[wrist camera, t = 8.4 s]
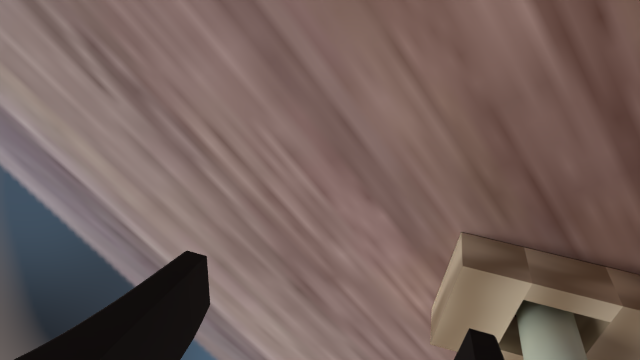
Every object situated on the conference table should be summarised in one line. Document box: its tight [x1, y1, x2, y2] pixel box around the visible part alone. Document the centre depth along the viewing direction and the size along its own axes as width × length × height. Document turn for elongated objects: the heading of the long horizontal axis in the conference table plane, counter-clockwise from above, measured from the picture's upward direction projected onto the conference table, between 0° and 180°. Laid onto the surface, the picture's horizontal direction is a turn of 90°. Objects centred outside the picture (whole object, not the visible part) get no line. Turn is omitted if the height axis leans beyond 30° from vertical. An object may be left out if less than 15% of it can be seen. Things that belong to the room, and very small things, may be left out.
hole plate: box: [430, 232, 640, 360], centre depth 21 cm, size 10×6×2 cm, turn 84°
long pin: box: [516, 300, 587, 360], centre depth 19 cm, size 3×3×8 cm
